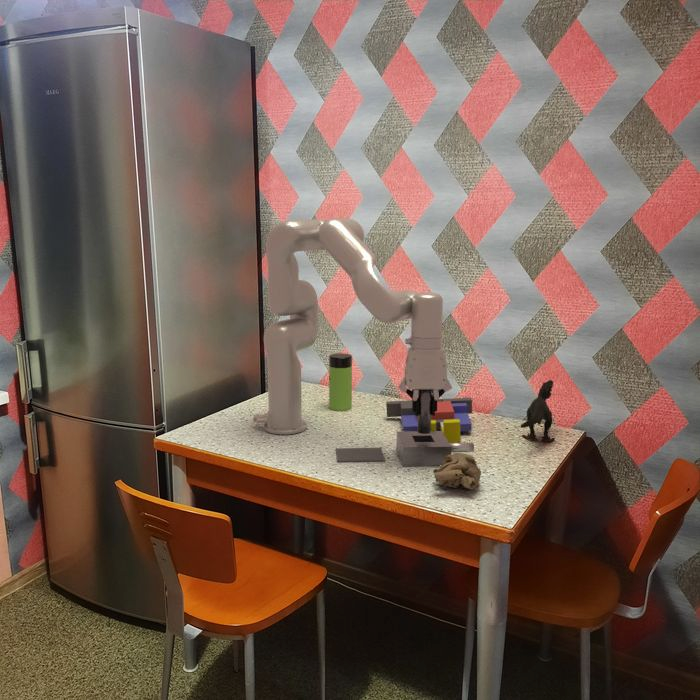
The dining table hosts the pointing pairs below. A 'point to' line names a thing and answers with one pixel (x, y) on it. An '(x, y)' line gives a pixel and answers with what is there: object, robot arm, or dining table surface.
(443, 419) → the toy
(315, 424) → the dining table surface
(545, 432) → the toy
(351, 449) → the mat
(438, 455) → the block
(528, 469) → the dining table surface
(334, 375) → the tumbler
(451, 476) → the tan lumpy mass
